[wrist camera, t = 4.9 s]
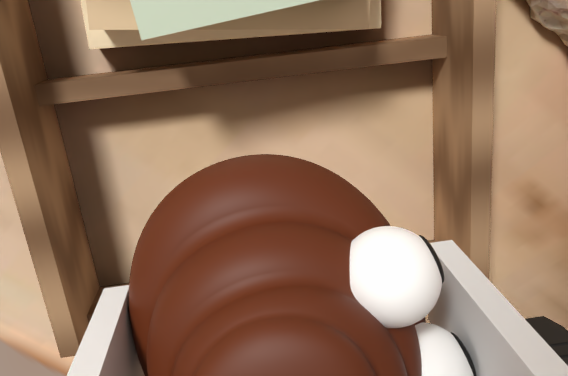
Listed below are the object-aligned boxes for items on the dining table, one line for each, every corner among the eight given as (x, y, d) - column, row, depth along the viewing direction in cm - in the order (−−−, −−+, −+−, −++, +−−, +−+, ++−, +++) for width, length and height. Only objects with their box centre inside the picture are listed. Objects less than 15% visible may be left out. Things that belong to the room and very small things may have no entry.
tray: (-47, -199, 23) (-118, -253, 18) (450, -241, 24) (504, -302, 19) (86, 304, 31) (60, 357, 26) (450, 252, 32) (488, 294, 28)
